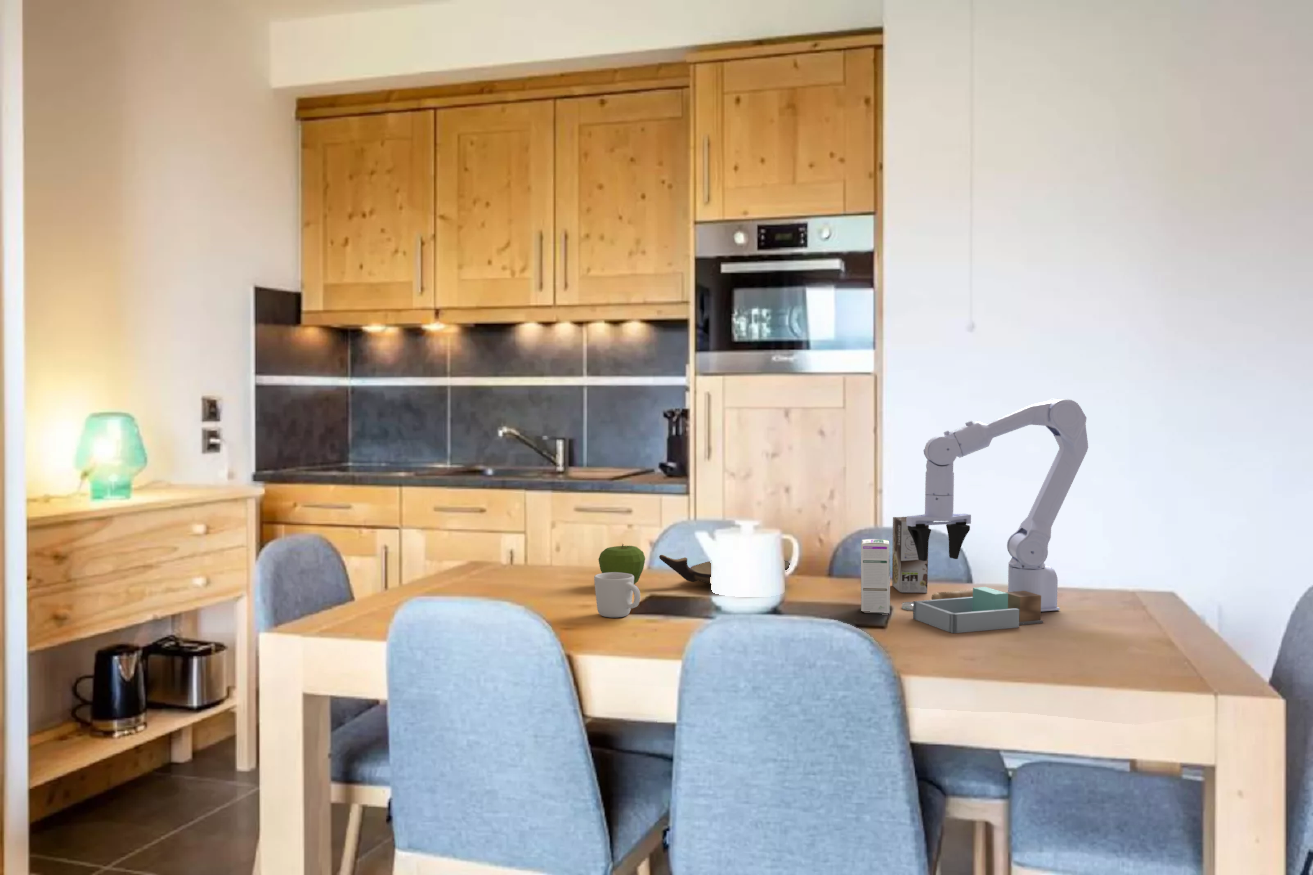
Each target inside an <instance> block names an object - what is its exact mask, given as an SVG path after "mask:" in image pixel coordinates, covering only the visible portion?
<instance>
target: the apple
mask: <svg viewBox="0 0 1313 875" xmlns="http://www.w3.org/2000/svg"><path fill="white" fill-rule="evenodd" d="M597 560H598V565H599V569H600V572H601V573H610V572H618V573H628V574H632V575H633V576H634V585H636V584H637V583H638V582H639V579H640V577H641V576H642V573H643V570H644V567H645V563H646V557H645V554H644V552H643V550H641V549H640V548H639V547H637V546H634V545H624V544H623V543H622V544H621V545H615V546H610V547H607V548H605V549H604V550H603V551H601V552H600V554H599V557H598V559H597Z"/></svg>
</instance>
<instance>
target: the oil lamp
mask: <svg viewBox="0 0 1313 875" xmlns="http://www.w3.org/2000/svg"><path fill="white" fill-rule="evenodd" d="M658 557H659V558H658V559H660V561H662V562H663V563H664V564H666V565H667V566H668V568H670V569H672V570H673V571H675V572H676V573H677V574H678V575H679V576H681V577H682V578H683V579H684V580H685V581H688V582H692V583H694V582H703V583H705V584H709V583H710V577H711V563H710V561H711V560H710V561H709V560H708V561H705V562H701V563H697V564H695V565H692V566H691V567H689V565H688V558H687V557H682V558H676V559H675V558H671V557H668V556H667V555H665V554H659V556H658ZM784 561H785V570H787V569H788V568H789V565H790V563H791V562H789V560H784ZM709 585H710V584H709Z"/></svg>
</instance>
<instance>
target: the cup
mask: <svg viewBox="0 0 1313 875" xmlns="http://www.w3.org/2000/svg"><path fill="white" fill-rule="evenodd" d="M593 580H594V592H595V600H596V602H595V603H596V608H597V609H596V610H597V612H598V615H600V616H602V617H605V618H611V619H612V618H613V619H615V618H623V617H627V616H629V614H630V612H631V610H632V609H634V608H635V609H636V608H637V607H638V606H639V605H640V601H641V591H640V589H639V587H638V586H637V585H636V584H634V576H633V575H632V574H628V573H618V572H610V573H602V572H601V573H598V574H595V575H594V578H593ZM633 595H634V597H633Z"/></svg>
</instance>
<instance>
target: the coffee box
mask: <svg viewBox="0 0 1313 875" xmlns="http://www.w3.org/2000/svg"><path fill="white" fill-rule="evenodd" d="M906 518H907V516H893V517H892V554H891V556H892V560H891V561H892V564H891V565H892V566H891V567H892V569H891V570H892V571H891V575H892V576H891V578H892V580H891V585H892V587H893V588H895V590H897V591H898V592H899V593H905V594H906V593H909V594H910V593H912V594H913V593H916V594H917V593H918V594H919V593H920V594H921V593H922V594H927V593H928V582H929V581H928V576H929V575H928V574H929V573H928V572H929V555H928V556H927V561H922V560H919V559H918V554H917V550H916V547H915V543H914V541H913V538H912V536H911V534H910V532H909V531H908V526H907V525H906ZM925 527H927V528H928V529H930V525H925ZM929 541H930V540H929ZM929 541H928V543H929Z"/></svg>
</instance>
